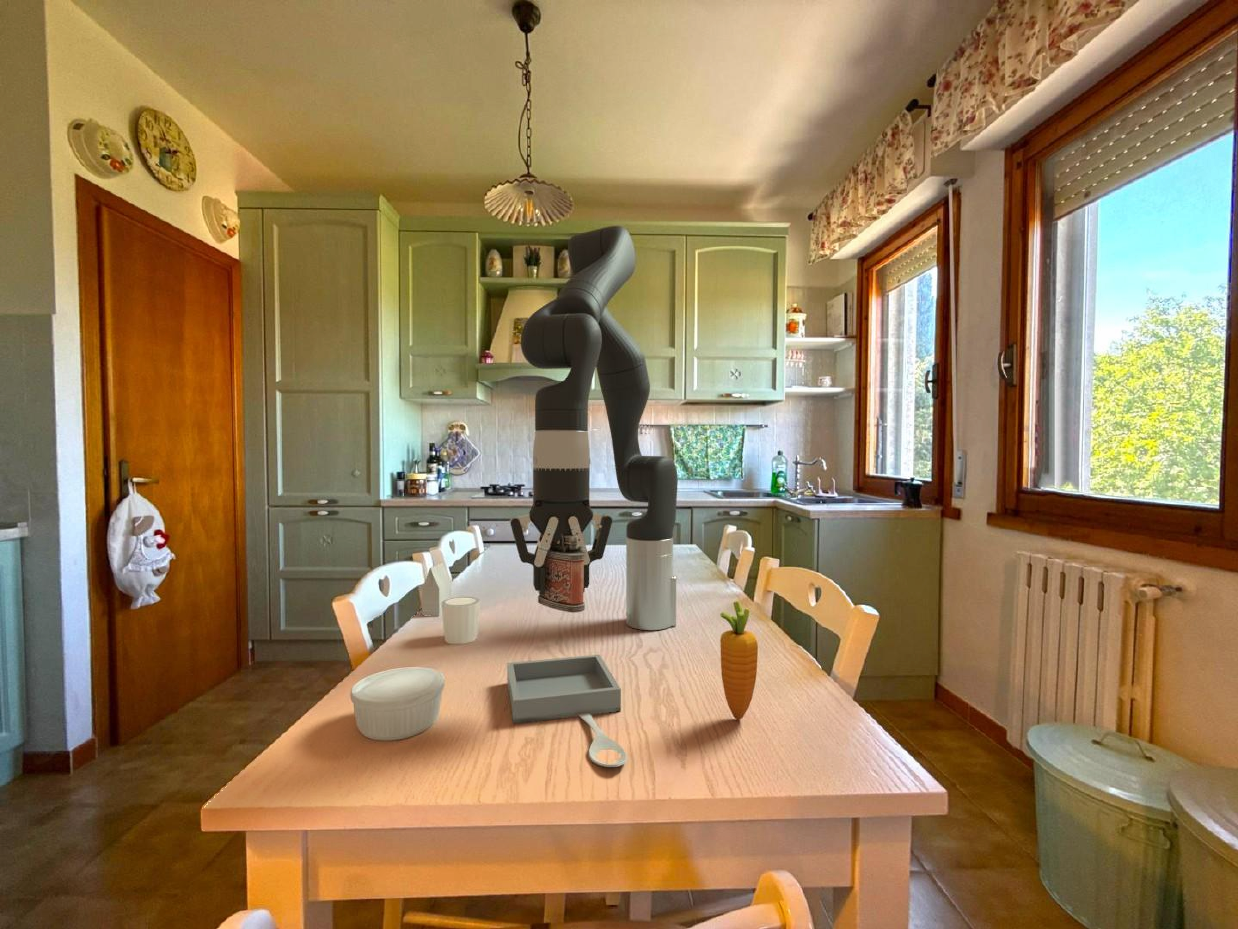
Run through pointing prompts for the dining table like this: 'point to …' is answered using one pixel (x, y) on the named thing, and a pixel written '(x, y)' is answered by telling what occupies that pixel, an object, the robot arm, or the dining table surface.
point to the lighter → (564, 576)
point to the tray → (561, 688)
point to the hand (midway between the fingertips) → (561, 591)
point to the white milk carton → (436, 590)
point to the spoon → (602, 744)
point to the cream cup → (460, 619)
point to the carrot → (738, 662)
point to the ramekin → (397, 702)
